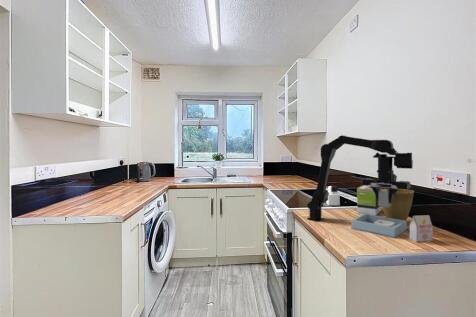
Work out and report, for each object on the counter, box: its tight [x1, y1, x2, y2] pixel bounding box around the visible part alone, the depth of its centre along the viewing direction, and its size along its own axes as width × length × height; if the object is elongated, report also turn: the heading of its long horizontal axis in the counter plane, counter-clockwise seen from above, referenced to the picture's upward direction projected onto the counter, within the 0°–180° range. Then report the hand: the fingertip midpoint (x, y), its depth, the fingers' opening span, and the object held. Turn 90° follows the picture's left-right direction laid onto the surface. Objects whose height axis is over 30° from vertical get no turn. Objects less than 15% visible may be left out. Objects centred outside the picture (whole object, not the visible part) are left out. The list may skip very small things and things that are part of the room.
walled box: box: [351, 214, 408, 239], centre depth 122 cm, size 16×18×4 cm
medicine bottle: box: [325, 185, 341, 206], centre depth 175 cm, size 7×7×12 cm
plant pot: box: [380, 188, 415, 221], centre depth 132 cm, size 15×15×16 cm
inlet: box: [374, 220, 396, 227], centre depth 120 cm, size 7×7×3 cm
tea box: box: [356, 184, 383, 216], centre depth 153 cm, size 15×10×15 cm, turn 141°
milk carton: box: [409, 214, 434, 243], centre depth 107 cm, size 4×7×10 cm, turn 96°
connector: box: [379, 188, 391, 208], centre depth 119 cm, size 4×4×7 cm
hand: (384, 202), depth 119 cm, fingers closed on connector, 4 cm apart
